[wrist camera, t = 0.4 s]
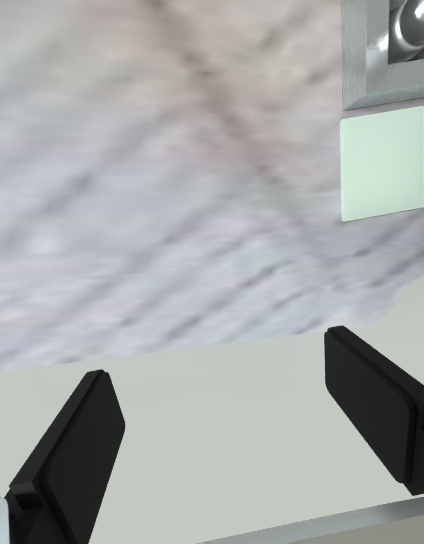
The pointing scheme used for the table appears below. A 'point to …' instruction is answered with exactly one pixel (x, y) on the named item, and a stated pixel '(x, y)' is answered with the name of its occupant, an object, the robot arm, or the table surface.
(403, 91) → the bore block
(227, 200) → the table surface
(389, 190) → the pad
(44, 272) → the table surface
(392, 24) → the plastic bottle
